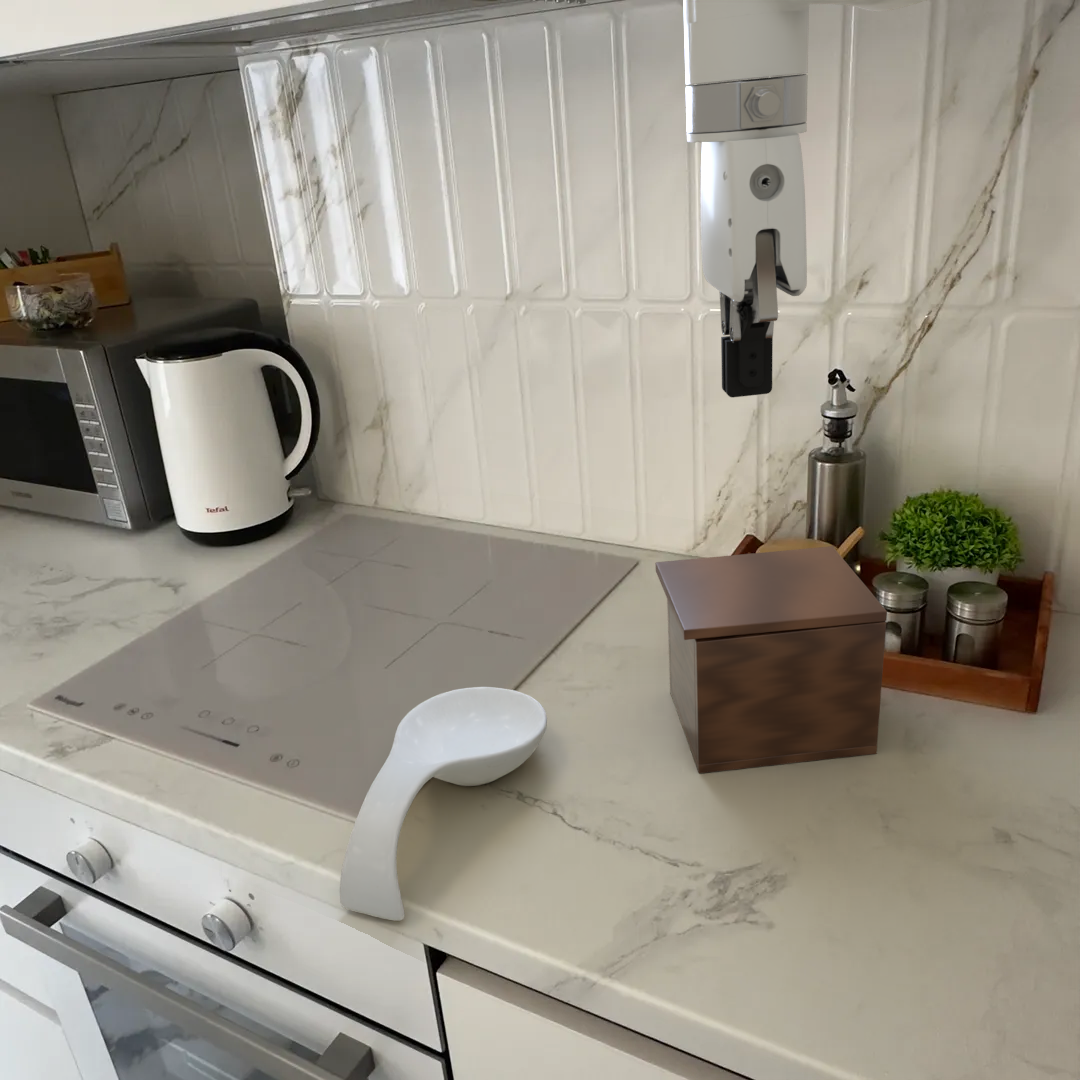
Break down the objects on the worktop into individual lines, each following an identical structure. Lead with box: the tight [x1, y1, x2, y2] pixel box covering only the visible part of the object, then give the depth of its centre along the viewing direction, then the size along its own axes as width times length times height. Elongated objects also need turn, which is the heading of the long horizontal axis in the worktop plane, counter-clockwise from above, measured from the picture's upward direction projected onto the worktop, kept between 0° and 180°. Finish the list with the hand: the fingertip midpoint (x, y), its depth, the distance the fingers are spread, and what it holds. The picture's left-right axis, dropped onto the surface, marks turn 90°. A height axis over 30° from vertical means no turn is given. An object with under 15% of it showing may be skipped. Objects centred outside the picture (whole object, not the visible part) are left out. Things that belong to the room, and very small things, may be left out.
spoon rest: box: [339, 686, 548, 922], centre depth 73 cm, size 24×12×7 cm, turn 161°
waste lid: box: [655, 546, 888, 640], centre depth 76 cm, size 15×12×1 cm
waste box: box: [666, 598, 887, 774], centre depth 79 cm, size 14×12×12 cm
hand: (746, 392), depth 69 cm, fingers closed
